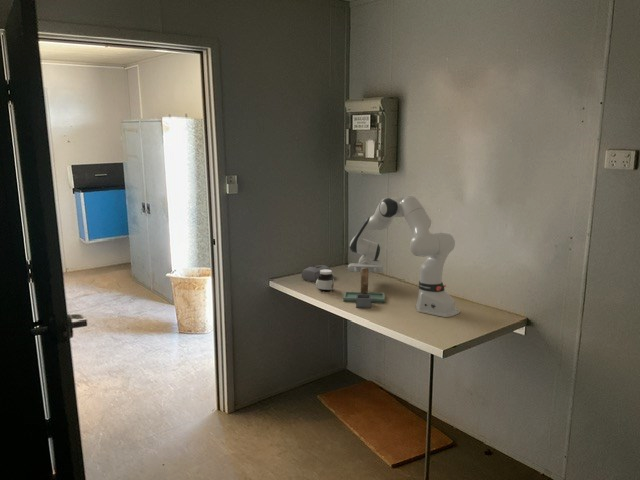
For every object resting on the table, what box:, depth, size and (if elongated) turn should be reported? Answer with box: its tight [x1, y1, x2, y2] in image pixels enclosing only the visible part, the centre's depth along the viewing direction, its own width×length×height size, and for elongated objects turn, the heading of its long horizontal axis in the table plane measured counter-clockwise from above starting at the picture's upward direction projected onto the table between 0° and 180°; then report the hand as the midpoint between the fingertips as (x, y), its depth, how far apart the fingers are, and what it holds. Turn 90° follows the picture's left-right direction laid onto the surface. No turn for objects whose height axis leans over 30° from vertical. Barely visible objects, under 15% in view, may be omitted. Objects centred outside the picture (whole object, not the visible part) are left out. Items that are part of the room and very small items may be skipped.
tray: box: [342, 291, 386, 304], centre depth 279 cm, size 22×12×2 cm, turn 84°
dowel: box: [360, 268, 369, 295], centre depth 277 cm, size 4×4×16 cm
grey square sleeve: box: [355, 294, 372, 309], centre depth 267 cm, size 8×8×5 cm
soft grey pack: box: [301, 264, 332, 283], centre depth 321 cm, size 15×8×20 cm
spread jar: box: [315, 269, 335, 293], centre depth 296 cm, size 12×11×12 cm
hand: (365, 271), depth 288 cm, fingers open, 8 cm apart
